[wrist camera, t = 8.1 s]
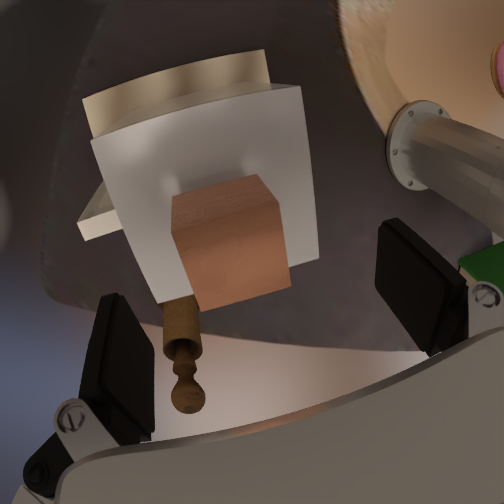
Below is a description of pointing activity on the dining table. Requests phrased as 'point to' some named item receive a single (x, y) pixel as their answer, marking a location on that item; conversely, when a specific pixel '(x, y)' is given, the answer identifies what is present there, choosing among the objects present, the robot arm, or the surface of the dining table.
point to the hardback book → (485, 266)
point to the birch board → (173, 86)
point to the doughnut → (498, 68)
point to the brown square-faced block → (230, 241)
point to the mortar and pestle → (183, 350)
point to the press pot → (201, 170)
